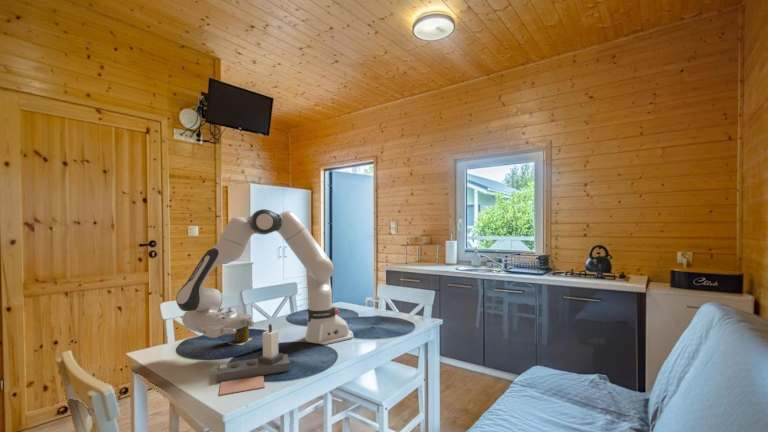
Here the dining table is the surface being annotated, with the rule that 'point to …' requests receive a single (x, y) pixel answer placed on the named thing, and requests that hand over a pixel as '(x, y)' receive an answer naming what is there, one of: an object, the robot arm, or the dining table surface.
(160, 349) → the dining table surface
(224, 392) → the mat
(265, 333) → the block
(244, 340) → the condiment
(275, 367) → the power strip
